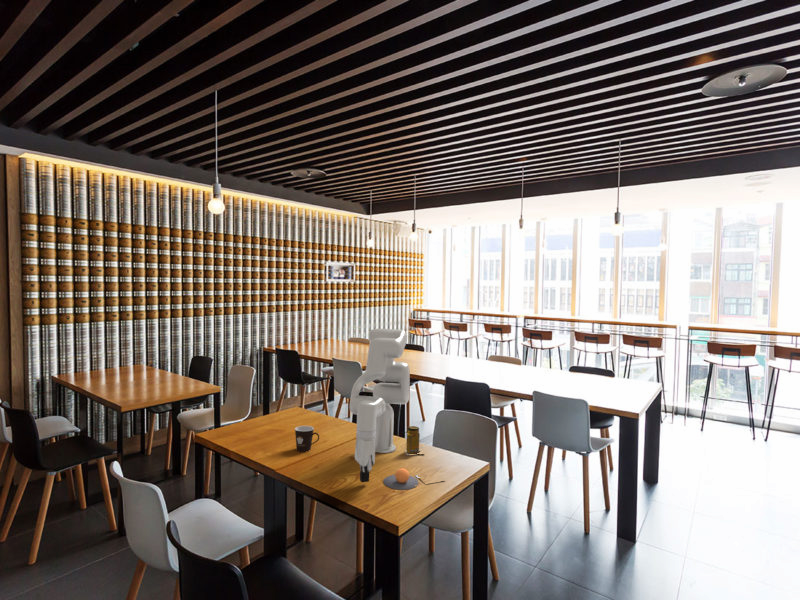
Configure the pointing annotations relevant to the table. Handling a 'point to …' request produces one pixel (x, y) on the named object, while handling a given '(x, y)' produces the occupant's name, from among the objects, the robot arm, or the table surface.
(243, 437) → the table surface
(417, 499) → the table surface
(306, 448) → the coffee mug
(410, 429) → the condiment
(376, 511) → the table surface
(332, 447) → the table surface
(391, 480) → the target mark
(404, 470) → the ball
